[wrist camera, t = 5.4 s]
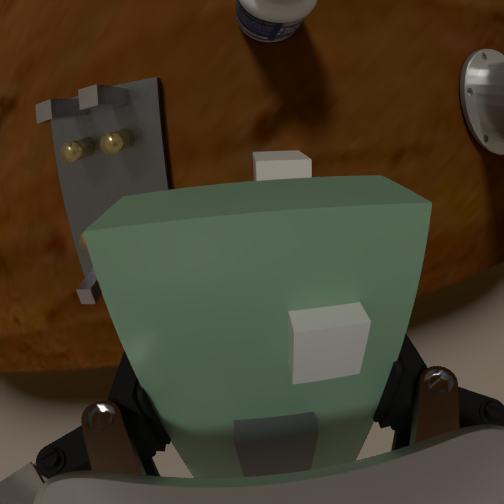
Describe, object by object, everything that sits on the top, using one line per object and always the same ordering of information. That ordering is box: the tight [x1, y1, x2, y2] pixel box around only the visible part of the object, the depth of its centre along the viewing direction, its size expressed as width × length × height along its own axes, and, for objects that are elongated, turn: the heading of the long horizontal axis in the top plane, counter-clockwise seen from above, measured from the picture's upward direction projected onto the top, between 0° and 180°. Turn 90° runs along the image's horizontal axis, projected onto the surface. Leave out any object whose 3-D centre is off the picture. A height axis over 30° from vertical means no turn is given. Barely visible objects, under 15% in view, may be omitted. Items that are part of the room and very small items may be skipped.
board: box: [83, 176, 432, 478], centre depth 9 cm, size 7×12×3 cm, turn 4°
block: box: [253, 151, 312, 181], centre depth 25 cm, size 4×9×5 cm, turn 3°
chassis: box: [36, 77, 171, 304], centre depth 23 cm, size 11×18×7 cm, turn 3°
